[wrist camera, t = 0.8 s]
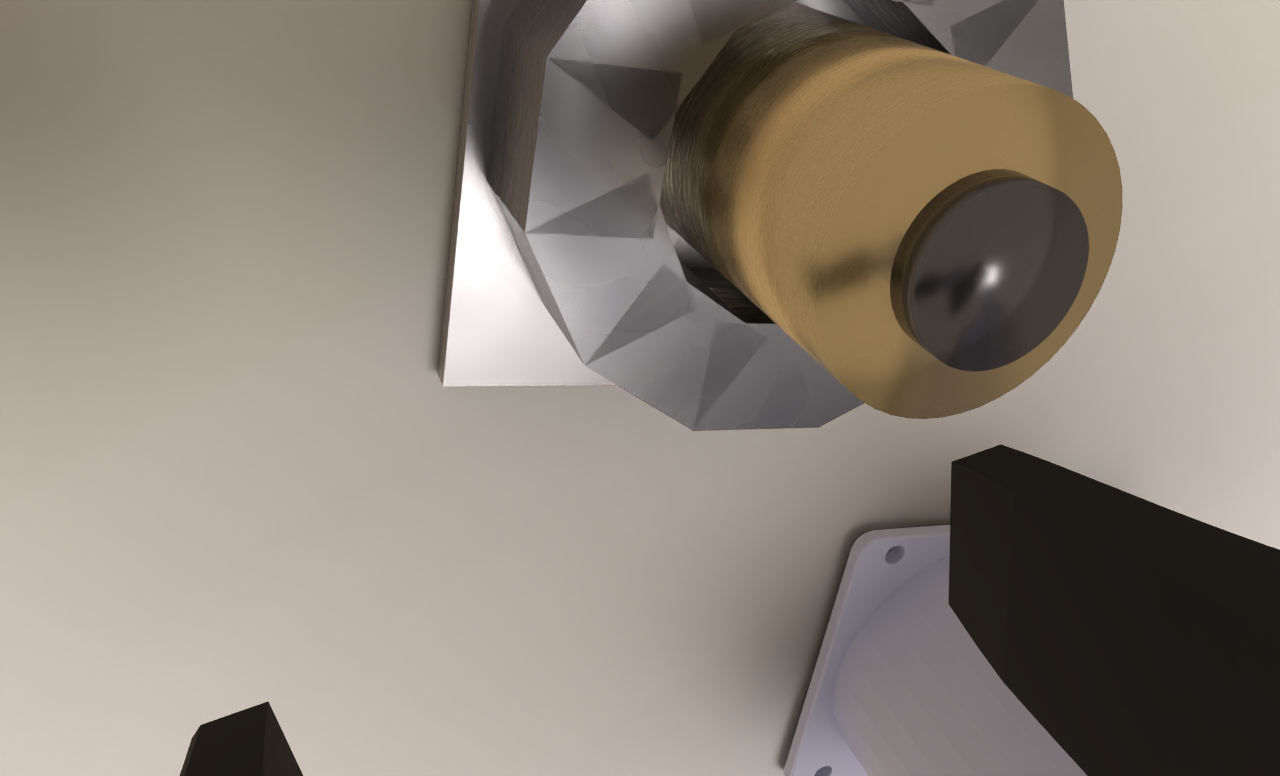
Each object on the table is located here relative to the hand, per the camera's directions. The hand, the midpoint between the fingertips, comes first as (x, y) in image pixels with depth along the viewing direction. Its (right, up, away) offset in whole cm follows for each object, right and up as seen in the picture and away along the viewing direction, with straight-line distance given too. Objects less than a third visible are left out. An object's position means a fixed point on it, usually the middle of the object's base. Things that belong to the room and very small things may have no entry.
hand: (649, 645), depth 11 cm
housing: (+2, +7, +8) cm, 11 cm away
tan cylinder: (+2, +7, +8) cm, 11 cm away
